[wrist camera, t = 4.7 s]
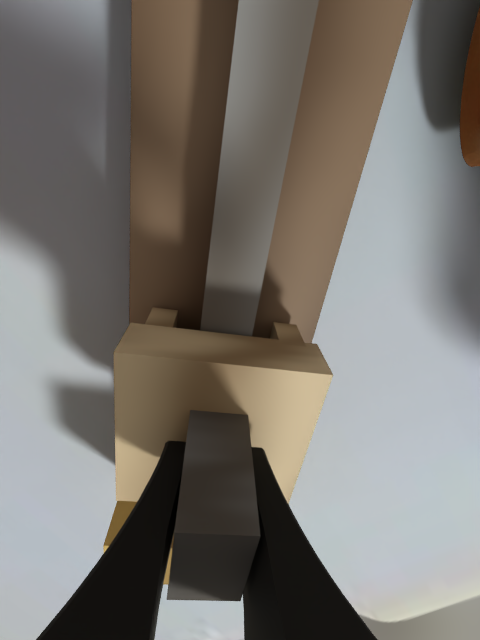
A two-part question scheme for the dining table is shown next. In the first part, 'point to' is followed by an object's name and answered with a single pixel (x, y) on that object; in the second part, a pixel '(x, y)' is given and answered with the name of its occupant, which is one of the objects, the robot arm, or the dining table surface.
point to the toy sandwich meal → (471, 101)
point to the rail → (193, 142)
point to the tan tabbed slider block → (214, 435)
